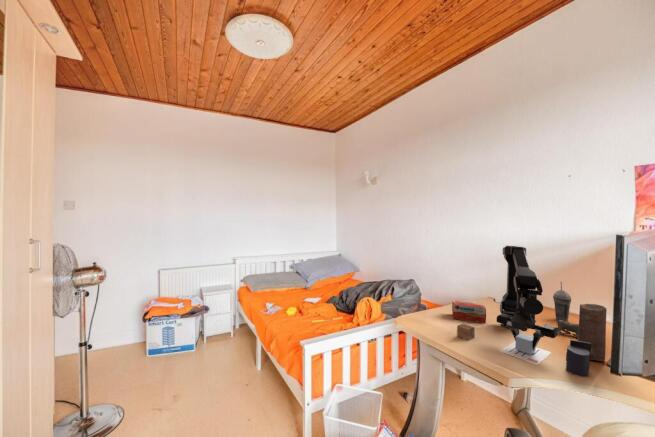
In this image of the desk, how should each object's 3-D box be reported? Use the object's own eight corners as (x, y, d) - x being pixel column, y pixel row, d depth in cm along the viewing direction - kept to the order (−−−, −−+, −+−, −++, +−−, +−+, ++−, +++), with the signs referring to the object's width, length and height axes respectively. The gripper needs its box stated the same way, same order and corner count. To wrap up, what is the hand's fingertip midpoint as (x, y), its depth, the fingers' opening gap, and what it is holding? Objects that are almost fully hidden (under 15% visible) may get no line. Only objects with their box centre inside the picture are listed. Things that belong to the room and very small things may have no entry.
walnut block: (463, 334, 120) (463, 323, 120) (474, 338, 116) (474, 327, 116) (457, 337, 117) (457, 325, 117) (468, 341, 113) (468, 329, 113)
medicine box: (483, 318, 141) (483, 303, 141) (486, 323, 133) (486, 307, 133) (451, 314, 146) (452, 299, 147) (452, 319, 139) (453, 303, 139)
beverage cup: (556, 321, 137) (556, 282, 137) (550, 317, 144) (550, 280, 144) (574, 324, 134) (574, 284, 134) (567, 319, 141) (567, 281, 141)
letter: (515, 341, 113) (515, 340, 113) (551, 353, 104) (551, 352, 104) (499, 351, 104) (499, 351, 104) (537, 365, 94) (537, 364, 94)
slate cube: (520, 345, 107) (520, 333, 107) (535, 350, 103) (535, 337, 103) (515, 349, 104) (515, 336, 104) (530, 354, 100) (530, 341, 100)
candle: (611, 365, 95) (612, 309, 95) (588, 363, 97) (588, 307, 97) (594, 354, 103) (594, 302, 103) (572, 353, 104) (573, 301, 104)
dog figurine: (555, 334, 122) (555, 317, 122) (558, 330, 126) (558, 315, 126) (592, 343, 113) (592, 325, 113) (594, 339, 117) (593, 322, 117)
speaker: (566, 363, 95) (568, 336, 94) (589, 371, 91) (591, 342, 90) (563, 373, 90) (565, 344, 89) (587, 382, 86) (590, 352, 85)
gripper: (490, 303, 107) (490, 343, 107) (549, 318, 92) (549, 363, 92) (502, 299, 113) (502, 336, 113) (559, 312, 98) (558, 354, 98)
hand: (525, 346), depth 104 cm, fingers closed on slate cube, 5 cm apart
